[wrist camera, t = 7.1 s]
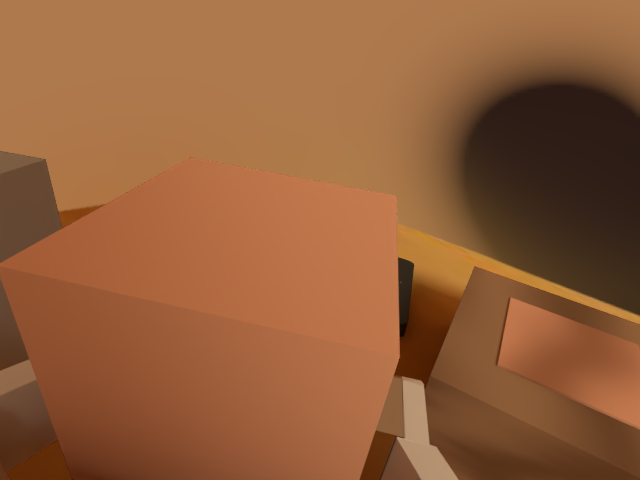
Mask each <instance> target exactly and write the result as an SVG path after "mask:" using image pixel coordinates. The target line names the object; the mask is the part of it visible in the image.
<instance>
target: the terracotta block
mask: <svg viewBox="0 0 640 480" xmlns="http://www.w3.org/2000/svg"><path fill="white" fill-rule="evenodd" d="M0 278H1V281H2V284H3V286H4V289H5V292H6V295H7V298H8V301H9V303H10V306H11V309H12V312H13V315H14V317H15V320H16V323H17V326H18V329H19V331H20V334H21V337H22V340H23V343H24V346H25V348H26V351H27V354H28V357H29V360H30V362H31V365H32V368H33V371H34V374H35V376H36V379H37V382H38V385H39V388H40V391H41V393H42V396H43V399H44V402H45V405H46V407H47V410H48V413H49V416H50V419H51V421H52V424H53V427H54V430H55V433H56V436H57V438H58V441H59V444H60V447H61V450H62V452H63V455H64V458H65V461H66V464H67V466H68V469H69V472H70V475H71V478H72V480H359V479H360V476H361V473H362V470H363V467H364V464H365V461H366V458H367V455H368V452H369V449H370V446H371V443H372V440H373V437H374V434H375V431H376V428H377V425H378V422H379V419H380V416H381V413H382V409H383V406H384V403H385V400H386V397H387V394H388V391H389V388H390V385H391V382H392V379H393V376H394V373H395V370H396V367H397V364H398V361H399V358H400V339H399V289H398V239H397V196H395V195H389V194H384V193H379V192H373V191H368V190H363V189H357V188H351V187H347V186H341V185H336V184H330V183H325V182H320V181H315V180H309V179H304V178H298V177H293V176H288V175H282V174H277V173H272V172H266V171H261V170H256V169H250V168H245V167H240V166H234V165H228V164H224V163H218V162H213V161H207V160H202V159H197V158H191V157H190V158H188V159H186V160H184V161H183V162H181V163H179V164H177V165H175V166H174V167H172V168H170V169H168V170H167V171H165V172H163V173H161V174H159V175H158V176H156V177H154V178H152V179H150V180H149V181H147V182H145V183H143V184H141V185H140V186H138V187H136V188H134V189H133V190H131V191H129V192H127V193H125V194H124V195H122V196H120V197H118V198H116V199H114V200H113V201H111V202H109V203H107V204H105V205H104V206H102V207H100V208H98V209H96V210H95V211H93V212H91V213H89V214H87V215H86V216H84V217H82V218H80V219H79V220H77V221H75V222H73V223H71V224H70V225H68V226H66V227H64V228H62V229H61V230H59V231H57V232H55V233H53V234H52V235H50V236H48V237H46V238H44V239H43V240H41V241H39V242H37V243H35V244H34V245H32V246H30V247H28V248H26V249H25V250H23V251H21V252H19V253H17V254H16V255H14V256H12V257H10V258H8V259H7V260H5V261H3V262H1V263H0Z"/></svg>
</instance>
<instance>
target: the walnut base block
mask: <svg viewBox="0 0 640 480" xmlns="http://www.w3.org/2000/svg"><path fill="white" fill-rule="evenodd" d="M424 391H425V402H426V412H427V423H428V433H429V444H430V445H432V446H436V447H437V448H438V450H439V451H440V453H441V454H442V456H443V457H444V459H445V460H446V462H447V463H448V465H449V466H450V468H451V469H452V471H453V472H454V474H455V475H456V477H457V478H458V480H640V324H637V323H634V322H631V321H628V320H625V319H623V318H620V317H617V316H614V315H611V314H608V313H606V312H603V311H600V310H597V309H594V308H591V307H589V306H586V305H583V304H580V303H577V302H574V301H572V300H569V299H566V298H563V297H560V296H557V295H555V294H552V293H549V292H546V291H543V290H540V289H538V288H535V287H532V286H529V285H526V284H523V283H521V282H518V281H515V280H512V279H509V278H506V277H504V276H501V275H498V274H495V273H492V272H489V271H487V270H484V269H481V268H478V267H474V269H473V271H472V274H471V276H470V279H469V281H468V284H467V286H466V289H465V291H464V294H463V296H462V298H461V301H460V303H459V306H458V308H457V311H456V313H455V316H454V318H453V321H452V323H451V325H450V328H449V330H448V333H447V335H446V338H445V340H444V343H443V345H442V348H441V350H440V352H439V355H438V357H437V360H436V362H435V365H434V367H433V370H432V372H431V374H430V377H429V380H428V382H427V385H426V388H425V390H424Z"/></svg>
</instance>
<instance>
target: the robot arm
mask: <svg viewBox="0 0 640 480" xmlns="http://www.w3.org/2000/svg"><path fill="white" fill-rule="evenodd" d="M56 440H58V438H57V436H56V433H55V430H54V427H53V424H52V421H51V419H50V416H49V413H48V410H47V407H46V405H45V402H44V399H43V396H42V393H41V391H40V388H39V385H38V382H37V379H36V376H35V374H34V371H33V368H32V365H31V362H30V360H26V361H24V362H21V363H19V364H16V365H14V366H11V367H9V368H6V369H4V370H1V371H0V480H10V478H9V476H8V474H7V472H8V471H10V470H11V469H13V468H14V467H16V466H17V465H19V464H20V463H22V462H24V461H25V460H27V459H28V458H30V457H31V456H33V455H34V454H36V453H38V452H39V451H41V450H42V449H44V448H45V447H47V446H48V445H50V444H51V443H53V442H55V441H56ZM359 480H458V478H457V477H456V475H455V474H454V472H453V471H452V469H451V468H450V466H449V465H448V463H447V462H446V460H445V459H444V457H443V456H442V454H441V453H440V451H439V450H438V448H437V447H436V446H432V445H430V444H429V433H428V423H427V412H426V402H425V391H424V384H423V382H422V381H421V380H416V379H412V378H407V377H403V376H401V377H400V376H399V375H394V376H393V379H392V382H391V385H390V388H389V391H388V394H387V397H386V400H385V403H384V406H383V409H382V413H381V416H380V419H379V422H378V425H377V428H376V431H375V434H374V437H373V440H372V443H371V446H370V449H369V452H368V455H367V458H366V461H365V464H364V467H363V470H362V473H361V476H360V479H359Z"/></svg>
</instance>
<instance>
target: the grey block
mask: <svg viewBox="0 0 640 480" xmlns="http://www.w3.org/2000/svg"><path fill="white" fill-rule="evenodd" d="M61 229H62V225H61V221H60V217H59V213H58V209H57V205H56V200H55V196H54V192H53V188H52V184H51V180H50V176H49V172H48V168H47V163H46V160H45V159H41V158H36V157H30V156H25V155H19V154H14V153H8V152H3V151H0V263H1V262H3V261H5V260H7V259H8V258H10V257H12V256H14V255H16V254H17V253H19V252H21V251H23V250H25V249H26V248H28V247H30V246H32V245H34V244H35V243H37V242H39V241H41V240H43V239H44V238H46V237H48V236H50V235H52V234H53V233H55V232H57V231H59V230H61ZM26 360H29V357H28V354H27V351H26V348H25V346H24V343H23V340H22V337H21V334H20V331H19V329H18V326H17V323H16V320H15V317H14V315H13V312H12V309H11V306H10V303H9V301H8V298H7V295H6V292H5V289H4V286H3V284H2V281H1V278H0V371H1V370H4V369H6V368H9V367H11V366H14V365H16V364H19V363H21V362H24V361H26Z"/></svg>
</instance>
